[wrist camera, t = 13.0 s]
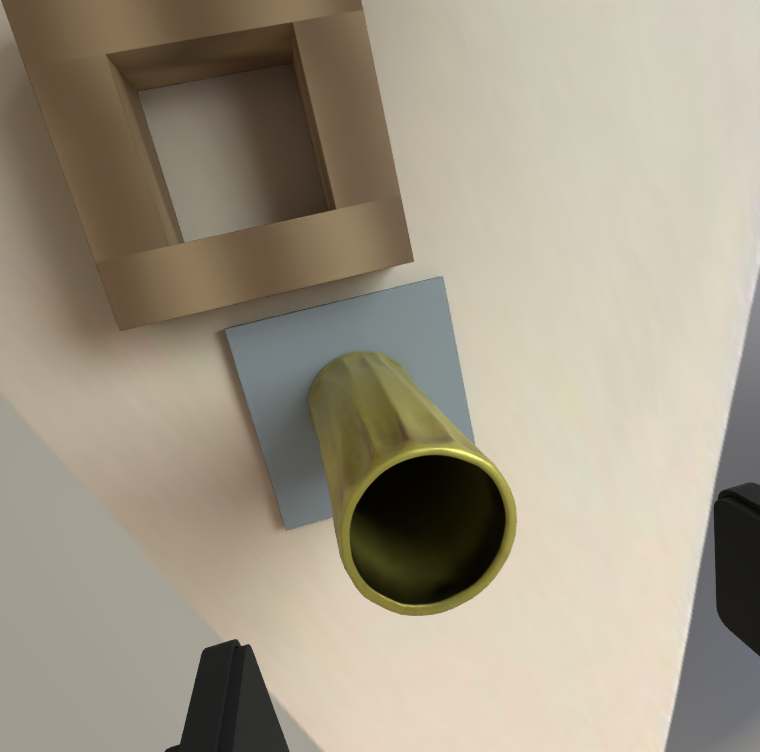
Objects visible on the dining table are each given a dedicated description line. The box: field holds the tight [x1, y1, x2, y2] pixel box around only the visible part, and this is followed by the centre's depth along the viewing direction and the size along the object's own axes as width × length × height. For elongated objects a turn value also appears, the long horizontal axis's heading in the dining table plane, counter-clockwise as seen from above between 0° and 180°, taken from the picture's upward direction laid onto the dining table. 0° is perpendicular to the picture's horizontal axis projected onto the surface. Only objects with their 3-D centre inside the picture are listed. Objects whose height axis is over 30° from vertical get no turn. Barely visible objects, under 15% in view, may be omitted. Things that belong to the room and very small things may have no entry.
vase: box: [308, 351, 517, 616], centre depth 20 cm, size 6×6×14 cm
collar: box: [1, 0, 414, 331], centre depth 22 cm, size 14×14×4 cm
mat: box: [225, 277, 475, 530], centre depth 28 cm, size 12×12×1 cm
